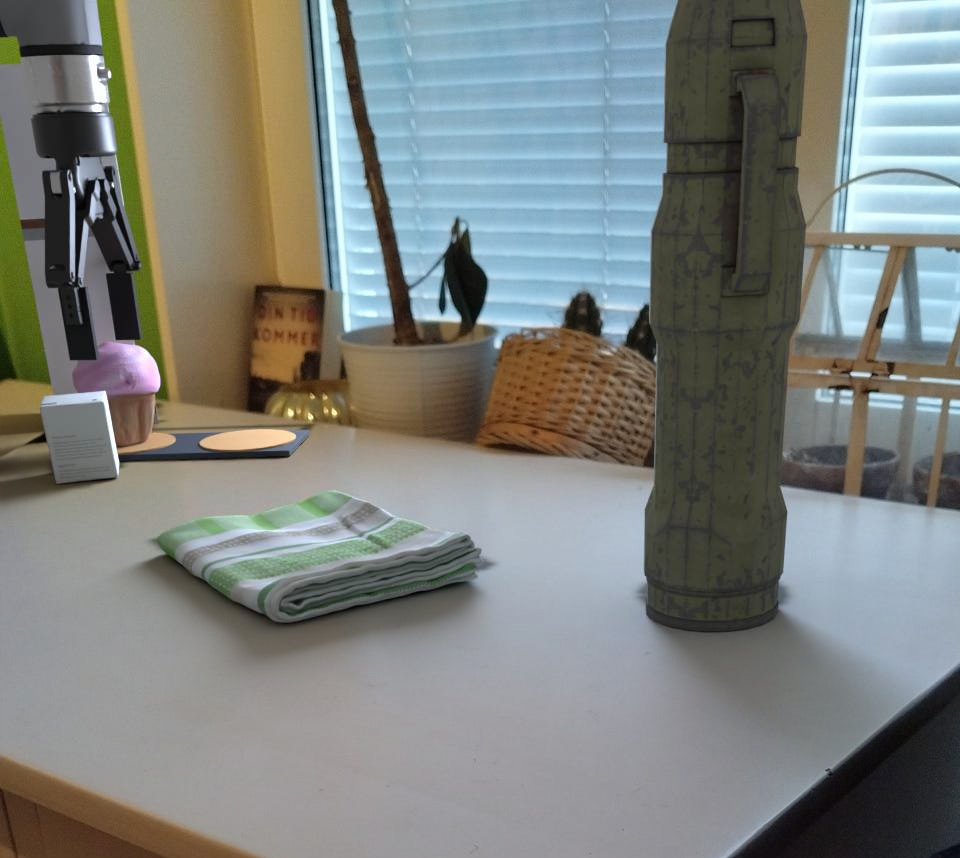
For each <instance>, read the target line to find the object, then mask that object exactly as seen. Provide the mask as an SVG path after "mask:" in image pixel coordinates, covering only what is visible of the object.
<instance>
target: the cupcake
mask: <svg viewBox="0 0 960 858" xmlns="http://www.w3.org/2000/svg"><path fill="white" fill-rule="evenodd" d="M97 347H98V354H99V359H98V360H78V363H77V366H76V367H75V369H74V370H73V372H72V377H73V383H74V387H75V389H76V390H77V392H78V393H88V392H98V391H105V392H106V395H107V400H108V405H109V411H110V416H111V422H112V427H113V433H114V438H115V443H116V446H119V447H125V446H130V445H134V444H137V443H140V442H145V441H146V440H147V439H148V438H149V437H150V435H151V433H153V426H154V424H153V421H154V412H155V408H154V407H155V403H156V393H157V392H159V390H160V387H161V376H160V372H159V368H158V365H157V362H156V360H155V359H154V357H153V356H152V354H150V353H149V352H148V350H147V349H145V348H144V347H142V346H140V345H137V344H135V345H127V344H119V343H114V342H104V343H102V344H101V345H99V346H97Z"/></svg>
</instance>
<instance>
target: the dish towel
mask: <svg viewBox="0 0 960 858" xmlns="http://www.w3.org/2000/svg"><path fill="white" fill-rule="evenodd" d="M156 542H157V545H158V546H159V548H160V550H162V551H163V552H164V553H165V554H166V555H168V556H170V557H171V558H172V559H173V560H175V561H176V562H178V563H179V564H181V565H182V566H183V567H184V568H185V570H187V572H188V573H190V574H191V575H192V576H194V577H197V578H200V579H201V580H203V581H205V582H207V584H209V586H211V587H212V588H213V589H215V590H216V591H217V592H219V593H220V594H222V595H223V596H224V597H226V598H228V599H229V600H230V601H232V602H235V603H238V604H240V605H243V606H245V607H247V608H248V609H251V610H253V611H255V612H257V613H259V614H262V615H265V616H266V617H268V618H269V619H270V620H272V621H273V622H276V623H284V624H286V623H287V624H290V623H295V622H299V621H303V620H309V619H312V618H315V617H320V616H323V615H327V614H330V613H334V612H338V611H343V610H346V609H348V608H352V607H354V606H361V605H368V604H373V603H376V602H380V601H381V602H382V601H385V600H389V599H394V598H398V597H403V596H406V595H410V594H413V593H416V592H421V591H430V590H434V589H437V588H440V587H443V586H445V585H450V584H453V583H461V582H469V581H473V580H474V581H475V580H477V579H478V578H479V575H478V574H477V573H476V571H477V569H478V566H482V565H484V564H485V561H484V560H483V558H482V557H480V555H481V554H482V548H481V547H476V545H475V541H473V540H472V537H471V536H470V534H469V533H466V532H462V531H461V532H460V531H459V532H449V531H445V530H443V529H442V530H439V529H433V528H432V527H429V526H428V525H426V524H423V523H420V522H418V521H415V520H412V519H407V518H400V517H398V516H397V515H394V514H391V513H390V512H388V511H387V510H385V509H383V508H381V507H380V506H378V505H376V504H374V503H372V502H370V501H366V500H363V499H360V498H358V497H355V496H352V495H350V494H347V493H344V492H341V491H338V490H336V489H335V490H333V489H332V490H327V491H324V492H320V493H318V494H317V493H316V494H314V495H312V496H310V497H308V498H305V499H303V500H300V501H297V502H294V503H289V504H285V505H282V506H278V507H275V508H271V509H267V510H265V511H262V512H259V513H256V514H252V515H243V514H232V515H217V516H205V517H199V518H196V519H192V520H189V521H186V522H182V523H181V524H177V525H174V526H172V527H170V528H168V529H166V530H165V531H163V532H162V533H160V534H159V535H158V536H157V539H156Z"/></svg>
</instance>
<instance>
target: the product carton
mask: <svg viewBox="0 0 960 858" xmlns="http://www.w3.org/2000/svg"><path fill="white" fill-rule="evenodd" d="M39 412H40V416H41V421H42V427H43V430H44V434H45V439H46V443H47V448H48V453H49V457H50V461H51V462H50V463H51V466H52V470H53V475H54V480H55V483H56V484H57V485H60V484H69V483H76V482H86V481H87V482H88V481H95V480H104V479H113V478H114V479H115V478H119V474H120V473H119V471H120V461H119V459H118V454H117V449H116V443H115V438H114V433H113V427H112V422H111V416H110V411H109V405H108V400H107V395H106V392H105V391H98V392H88V393H76V394H64V395H52V394H51V395H44V396H43V398H42V401H41V403H40V405H39Z"/></svg>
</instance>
